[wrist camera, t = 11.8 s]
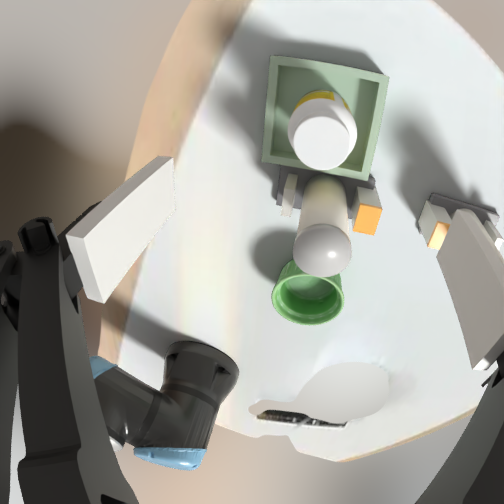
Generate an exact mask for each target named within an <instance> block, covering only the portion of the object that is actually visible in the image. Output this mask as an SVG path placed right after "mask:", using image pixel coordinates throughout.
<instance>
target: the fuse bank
mask: <svg viewBox="0 0 504 504" xmlns="http://www.w3.org/2000/svg"><path fill="white" fill-rule="evenodd" d="M374 185H375V178H371V177H368V181H364V180H359V179H355V178H350V177H345V176H340V175H335V174H330V173H325V172H319V171H314V170H308V169H303V168H297V167H291V166H285V165H281V168H280V177H279V185H278V194H277V202H276V205H279V206H282V208H281V216H287V217H291V213H292V208H296V209H301V214H300V219H299V225H298V231H297V236H296V239H295V241H294V246H293V258H294V261H295V263H296V264H297V266H298V267H299V268H300V269H301V270H302V271H304V272H305V273H307V274H309V275H312V276H316V277H330V276H334V275H336V274H338V273H340V272H342V271H343V270H344V269H345V268H346V267H347V266H348V264H349V263H350V260H351V256H352V251H351V243H350V240H349V226H348V218H349V219H352V226H353V231H355V232H360V233H365V234H369V235H374V234H375V231H376V228H377V225H378V221H379V218H380V215H381V212H382V207H381V203H380V200H379V196H378V193H377V190H376V187H374ZM457 209H459V210H462V211H465V212H469V213H470V214H471V216H472V217H473V219H474V220H475V222H476V223H477V224H478V226H479V227H480V229H481V230H482V232H483V234H484V235H485V237H486V238H487V240H488V241H489V243H490V245H491V246H492V248H493V249H494V251H495V253H496V254H497V256H498V258H499V260H500V261H501V263H502V265H503V266H504V259H503V257H502V255H501V254H500V252H499V248H500V246H501V244H502V242H503V240H504V239H503V238H502V236H501V235H500V233H499V232H498V230H497V229H496V227H495V226H496V224H497V222H498V220H499V218H500V216H499V215H498V214H497V213H495V212H492V211H489V210H486V209H483V208H480V207H477V206H474V205H471V204H468V203H465V202H461V201H458V200H455V199H451V198H448V197H445V196H441V195H438V194H434V193H432V194H431V197H430V200H426V202H425V205H424V208H423V210H422V213H421V216H420V218H419V221H418V223H419V226H420V227H419V229H418V231H419V233H420V234H422V235H423V236H424V238H425V241H426V243H427V246H428V247H430V248H434V249H438V250H440V247H441V245H442V243H443V241H444V239H445V236H446V234H447V232H448V229H449V227H450V224H451V222H452V220H453V217H454V215H455V212H456V210H457Z"/></svg>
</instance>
